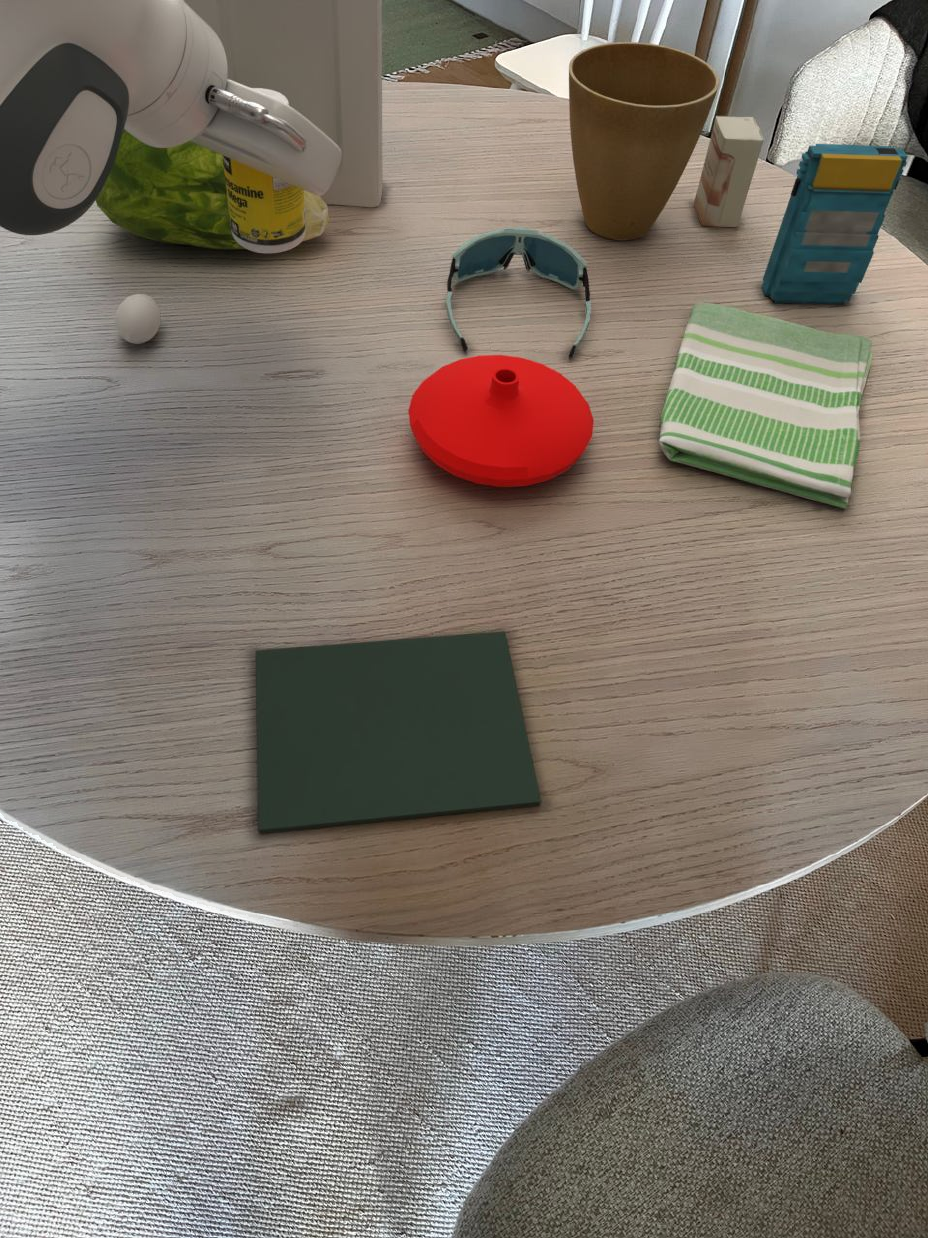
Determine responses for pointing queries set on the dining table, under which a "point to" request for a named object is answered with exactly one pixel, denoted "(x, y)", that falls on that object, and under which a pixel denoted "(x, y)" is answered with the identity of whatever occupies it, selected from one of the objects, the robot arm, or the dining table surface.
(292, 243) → the pill bottle
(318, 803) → the mat
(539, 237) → the sunglasses
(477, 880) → the dining table surface
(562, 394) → the flat cone with hole
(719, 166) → the small cream box
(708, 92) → the plant pot
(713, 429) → the dish towel
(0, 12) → the robot arm
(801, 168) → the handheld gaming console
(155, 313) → the egg
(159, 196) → the lettuce
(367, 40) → the tall white carton
